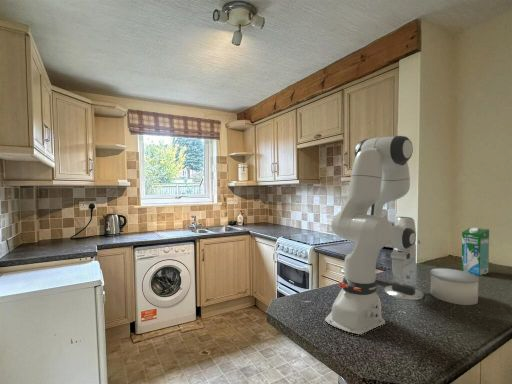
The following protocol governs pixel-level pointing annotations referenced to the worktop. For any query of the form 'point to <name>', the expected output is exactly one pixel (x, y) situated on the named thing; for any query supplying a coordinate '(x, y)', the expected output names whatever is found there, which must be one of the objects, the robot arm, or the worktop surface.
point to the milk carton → (475, 251)
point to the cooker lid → (404, 291)
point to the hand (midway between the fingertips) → (405, 281)
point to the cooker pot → (454, 286)
